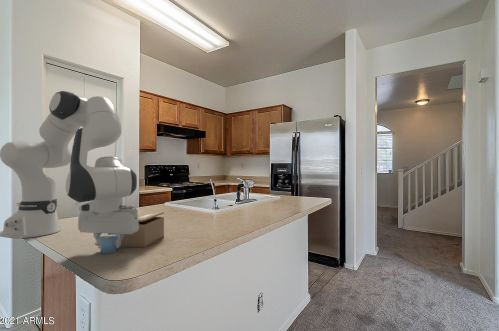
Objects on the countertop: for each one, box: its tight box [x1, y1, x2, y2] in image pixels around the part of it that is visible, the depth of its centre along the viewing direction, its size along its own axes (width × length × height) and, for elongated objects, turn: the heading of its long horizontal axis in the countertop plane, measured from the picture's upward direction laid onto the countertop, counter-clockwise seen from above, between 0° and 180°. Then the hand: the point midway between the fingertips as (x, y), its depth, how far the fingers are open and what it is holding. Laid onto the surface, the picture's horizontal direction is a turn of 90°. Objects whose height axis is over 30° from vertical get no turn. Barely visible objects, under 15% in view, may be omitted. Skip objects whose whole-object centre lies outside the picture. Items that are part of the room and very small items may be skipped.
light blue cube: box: [100, 234, 118, 255], centre depth 84 cm, size 5×5×5 cm
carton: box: [118, 216, 165, 249], centre depth 96 cm, size 10×14×8 cm
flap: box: [138, 211, 165, 222], centre depth 96 cm, size 10×14×1 cm, turn 172°
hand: (108, 246), depth 84 cm, fingers closed on light blue cube, 5 cm apart
